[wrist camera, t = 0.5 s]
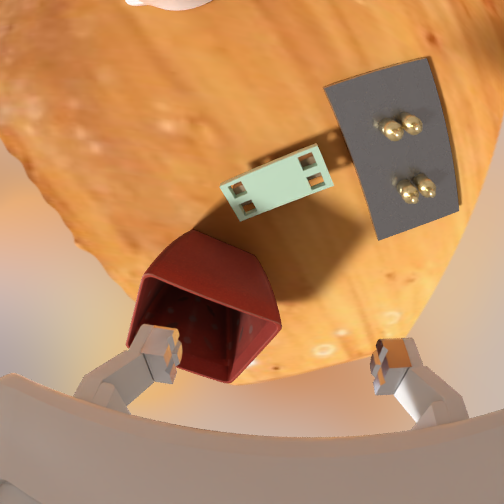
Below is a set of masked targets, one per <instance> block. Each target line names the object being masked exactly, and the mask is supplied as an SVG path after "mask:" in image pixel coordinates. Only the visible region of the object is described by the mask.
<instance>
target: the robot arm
mask: <svg viewBox="0 0 504 504" xmlns="http://www.w3.org/2000/svg"><path fill="white" fill-rule="evenodd" d="M125 1H126V3H127V4H129V5H131V6H142V5H152V6H155V7H158V8H162V9H166V10H187V9H191V8H195V7H198V6H201V5H204V4H206V3H208V2H210V1H212V0H125ZM178 338H179V332H178V329H175V328H168V327H162V326H156V325H148V324H143V325H142V326H141V327H140V329H139V331H138V333H137V335H136V336H135V338H134V340H133V342H132V344H131V346H130V348H129V350H128V351H127V350H125V351H124V352H122V353H120V354H118V355H117V356H115V357H114V358H112V359H110V360H109V361H107V362H106V363H104V364H102V365H101V366H99V367H97V368H96V369H94V370H93V371H91V372H89V373H88V374H86V375H85V376H84V377H83V379H82V381H81V383H80V385H79V386H78V388H77V390H76V392H75V394H74V396H73V397H72V396H70V395H67V394H64V393H61V392H59V391H56V390H54V389H51V388H49V387H46V386H44V385H41V384H39V383H36V382H34V381H32V380H30V379H27V378H26V377H23V376H21V375H19V374H16V373H10V374H7V375H5V376H3V377H1V378H0V504H504V409H501V410H498V411H495V412H491V413H488V414H485V415H481V416H477V417H474V418H470V419H469V416H468V413H467V410H466V407H465V404H464V401H463V398H462V396H461V395H460V394H458V393H457V392H456V391H455V390H454V389H453V388H452V387H450V386H449V385H448V384H447V383H446V382H445V381H443V380H442V379H441V378H440V377H439V376H437V375H436V374H435V373H434V372H433V371H431V370H430V369H429V368H428V367H427V366H423V363H422V360H421V358H420V355H419V352H418V350H417V347H416V344H415V342H414V339H413V338H393V339H379V340H378V341H377V344H376V348H377V350H376V351H375V352H373V354H372V357H371V363H370V369H371V374H372V375H373V376H374V377H375V380H374V382H373V384H374V390H375V395H390V394H394V396H395V397H396V398H397V400H398V401H399V402H400V403H401V405H402V406H403V407H404V408H405V409H406V411H407V412H408V413H409V414H410V415H411V417H412V418H413V419H414V420H415V421H416V424H415V426H414V427H413V428H412V429H411V430H409V431H402V432H394V433H385V434H375V435H363V436H347V437H314V438H313V437H312V438H311V437H307V438H306V437H274V436H258V435H246V434H236V433H226V432H218V431H210V430H203V429H198V428H192V427H186V426H180V425H175V424H170V423H165V422H160V421H155V420H151V419H147V418H143V417H138V416H135V415H131V413H130V412H129V410H128V409H127V407H126V406H127V405H128V404H130V403H131V402H132V401H133V400H134V399H135V398H137V397H138V396H139V395H140V394H141V393H142V392H143V391H145V390H146V389H147V388H148V387H149V386H150V385H151V384H152V383H154V381H155V382H161V383H168V384H173V382H174V378H175V376H176V373H177V371H176V366H177V365H179V364H180V361H181V358H182V344H181V342H180V341H179V340H178Z"/></svg>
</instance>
